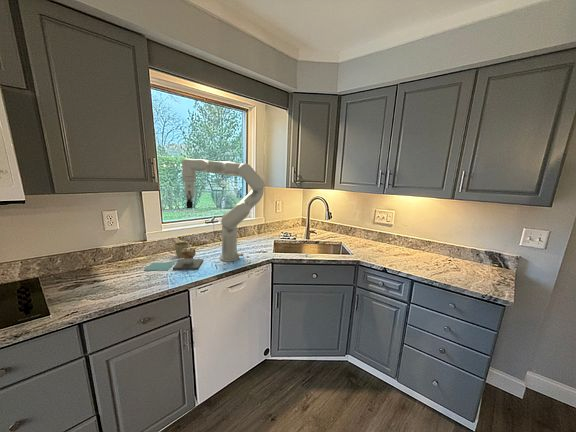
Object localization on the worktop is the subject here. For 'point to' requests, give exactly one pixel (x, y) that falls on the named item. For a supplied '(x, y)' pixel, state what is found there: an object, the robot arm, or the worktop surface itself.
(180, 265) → the stand
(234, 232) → the robot arm
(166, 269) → the mat
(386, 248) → the worktop surface
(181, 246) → the flower pot
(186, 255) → the walnut link
